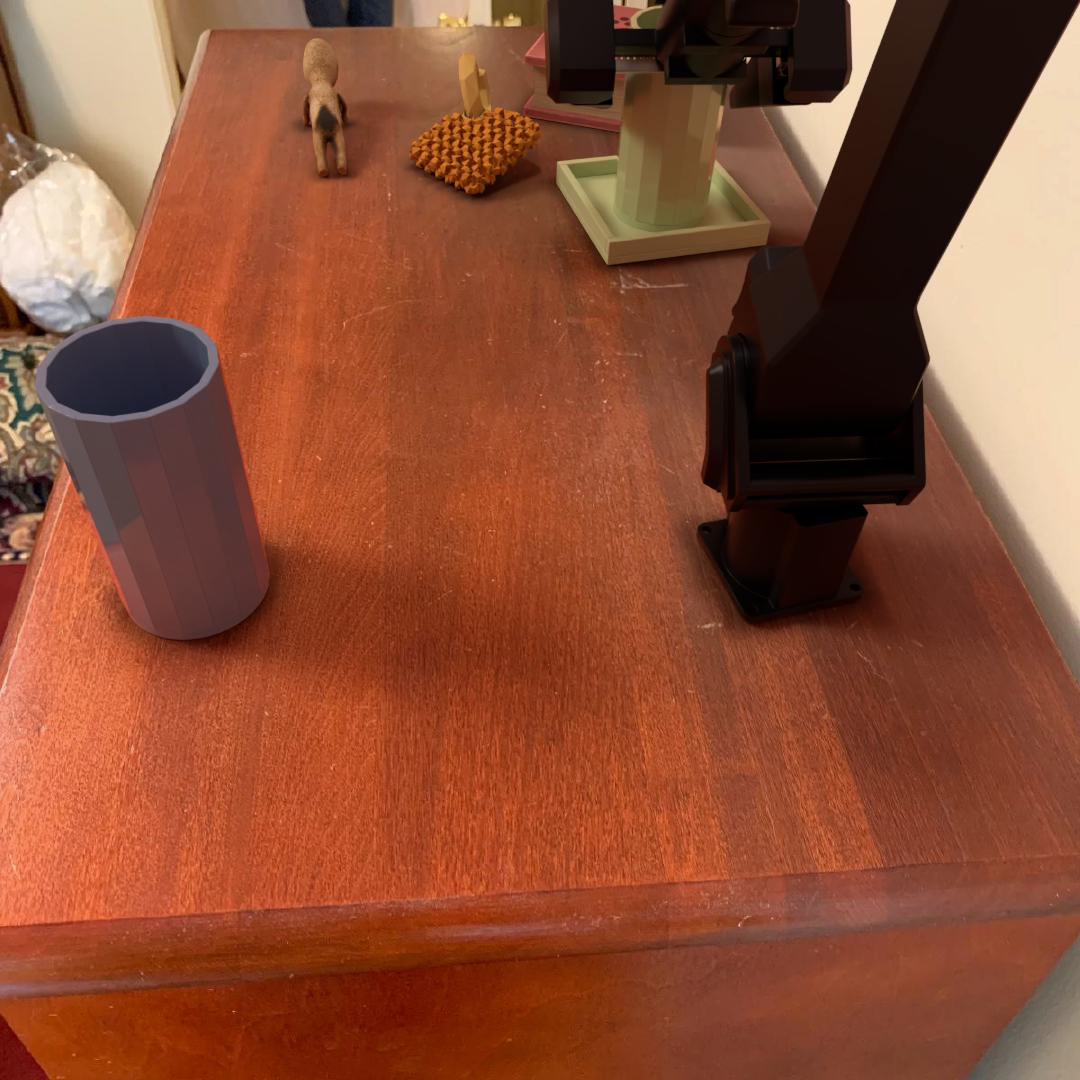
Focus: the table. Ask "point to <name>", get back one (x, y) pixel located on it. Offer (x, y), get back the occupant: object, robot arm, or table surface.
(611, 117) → the book
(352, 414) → the table surface
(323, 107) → the figurine
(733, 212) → the green tray
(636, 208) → the green cup
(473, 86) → the ornament
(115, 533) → the blue cup
